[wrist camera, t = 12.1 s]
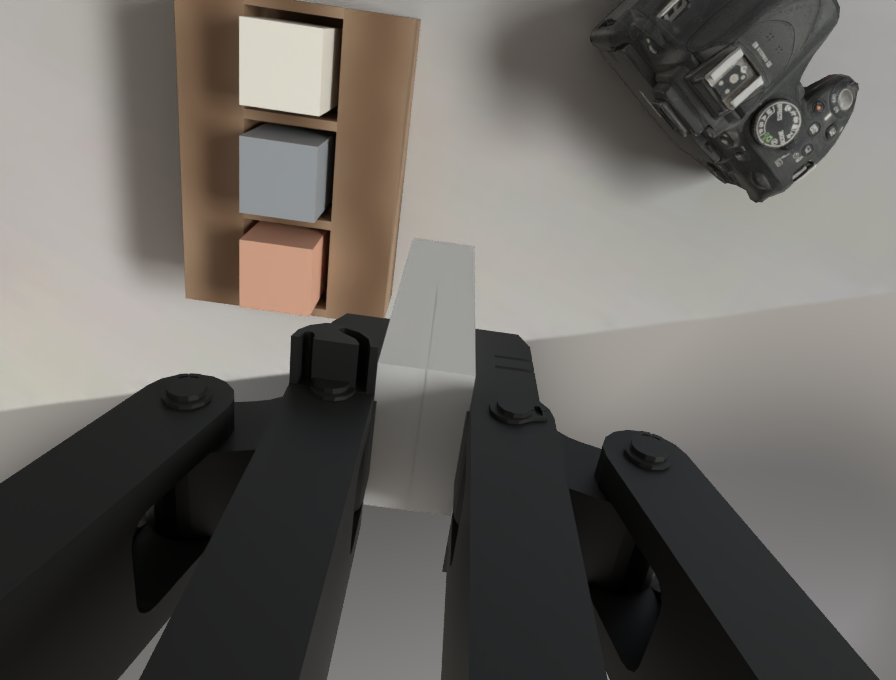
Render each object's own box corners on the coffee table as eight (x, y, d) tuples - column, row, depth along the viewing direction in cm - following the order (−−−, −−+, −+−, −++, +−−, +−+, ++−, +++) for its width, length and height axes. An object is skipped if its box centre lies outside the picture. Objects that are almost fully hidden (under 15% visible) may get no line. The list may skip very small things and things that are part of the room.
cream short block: (267, 95, 37) (239, 104, 33) (268, 17, 36) (238, 16, 31) (337, 105, 37) (319, 116, 33) (342, 28, 36) (323, 28, 31)
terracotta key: (264, 276, 42) (239, 306, 38) (265, 215, 40) (239, 239, 36) (326, 285, 42) (309, 316, 38) (330, 224, 40) (312, 249, 36)
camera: (847, 29, 37) (966, 31, 28) (746, 192, 41) (822, 238, 32) (638, -77, 35) (695, -112, 26) (553, 104, 39) (578, 127, 30)
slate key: (265, 191, 40) (239, 212, 35) (267, 122, 38) (239, 135, 34) (332, 200, 40) (314, 223, 35) (336, 132, 38) (317, 146, 34)
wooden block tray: (214, 270, 44) (185, 298, 40) (209, -13, 37) (173, -18, 33) (391, 295, 45) (382, 325, 40) (420, 19, 38) (413, 18, 33)
